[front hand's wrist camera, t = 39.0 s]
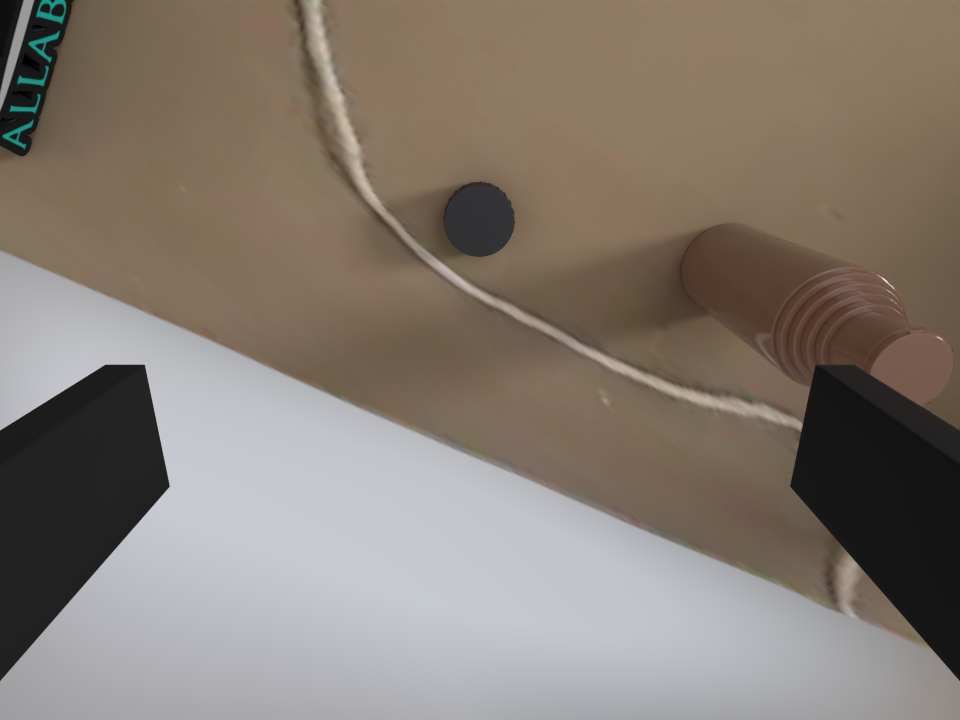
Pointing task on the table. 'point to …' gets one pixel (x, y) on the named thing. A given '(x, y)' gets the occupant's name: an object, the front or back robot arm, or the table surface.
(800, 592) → the table surface
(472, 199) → the cap
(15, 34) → the decorative sign
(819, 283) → the bottle
